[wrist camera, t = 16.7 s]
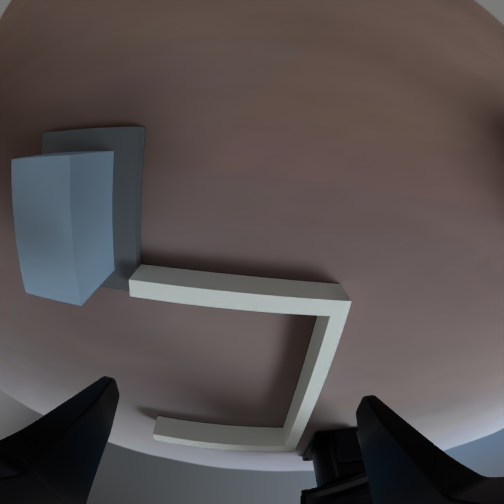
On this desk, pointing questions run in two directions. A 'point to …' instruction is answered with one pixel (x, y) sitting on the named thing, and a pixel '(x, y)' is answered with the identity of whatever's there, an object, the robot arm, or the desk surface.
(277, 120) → the desk surface
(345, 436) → the robot arm
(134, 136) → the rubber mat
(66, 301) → the blank block
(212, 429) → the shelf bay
